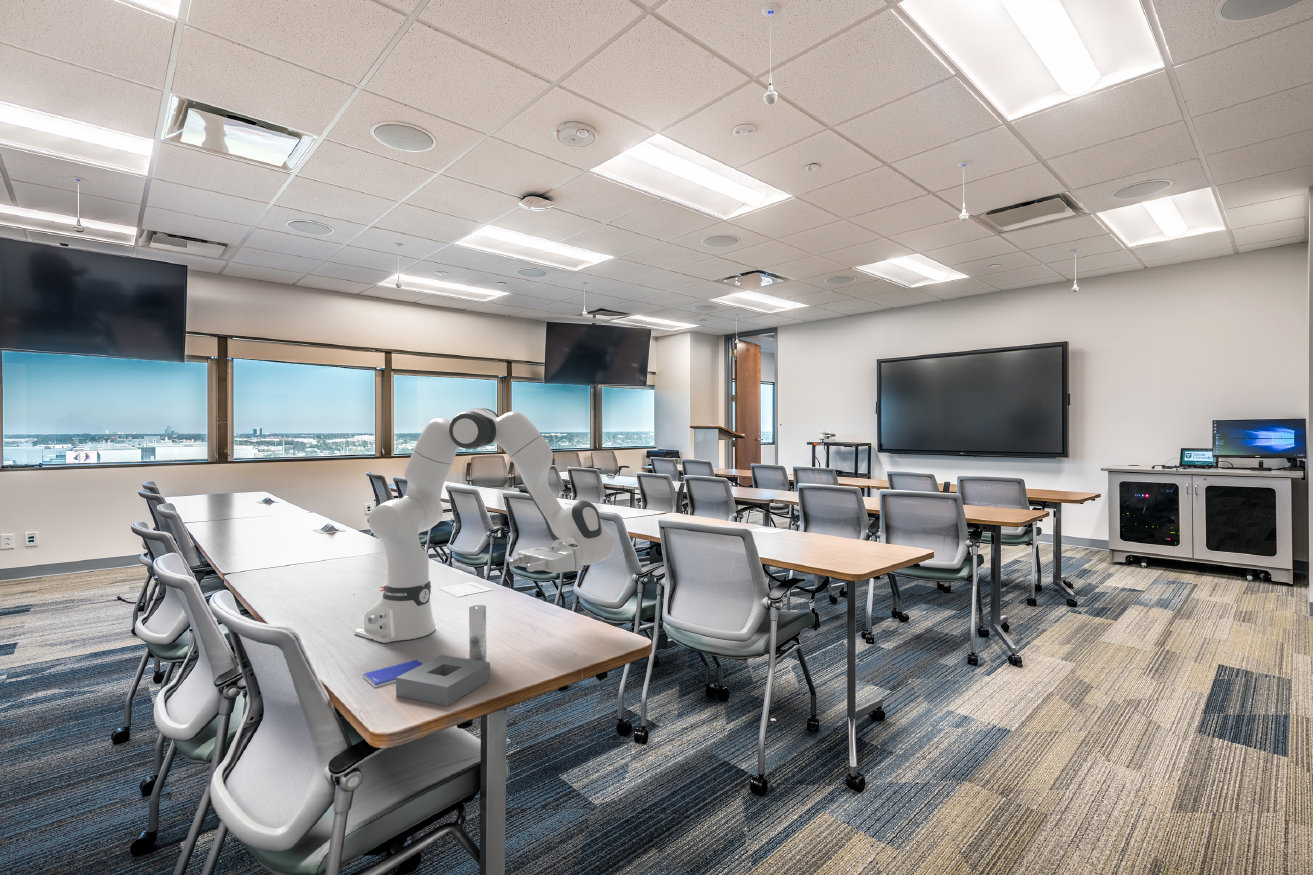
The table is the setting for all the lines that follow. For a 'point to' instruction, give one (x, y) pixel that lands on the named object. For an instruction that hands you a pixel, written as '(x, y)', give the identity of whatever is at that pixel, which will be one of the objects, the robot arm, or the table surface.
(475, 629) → the post
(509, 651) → the table surface
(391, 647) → the table surface
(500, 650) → the table surface
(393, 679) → the hard drive
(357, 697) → the table surface
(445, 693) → the socket base
